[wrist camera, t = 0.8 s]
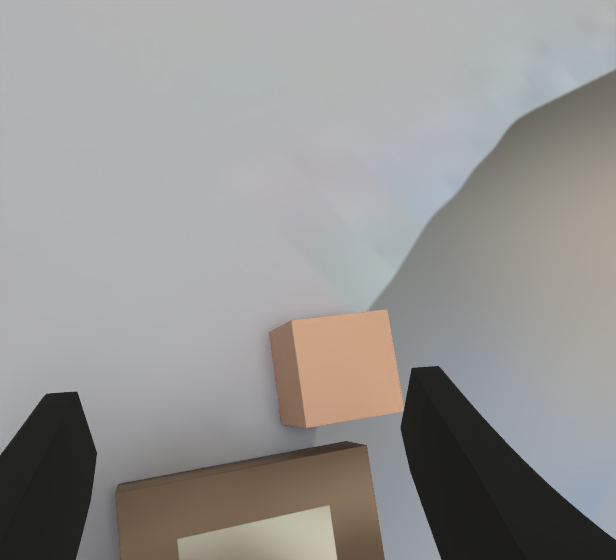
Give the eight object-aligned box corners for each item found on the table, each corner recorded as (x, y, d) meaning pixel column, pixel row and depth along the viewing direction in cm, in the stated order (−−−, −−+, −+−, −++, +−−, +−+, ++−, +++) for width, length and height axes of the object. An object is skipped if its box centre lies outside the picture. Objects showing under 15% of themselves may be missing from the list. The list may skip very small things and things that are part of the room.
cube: (365, 409, 31) (404, 410, 27) (281, 424, 30) (306, 428, 25) (351, 322, 32) (387, 309, 28) (268, 332, 31) (291, 320, 26)
